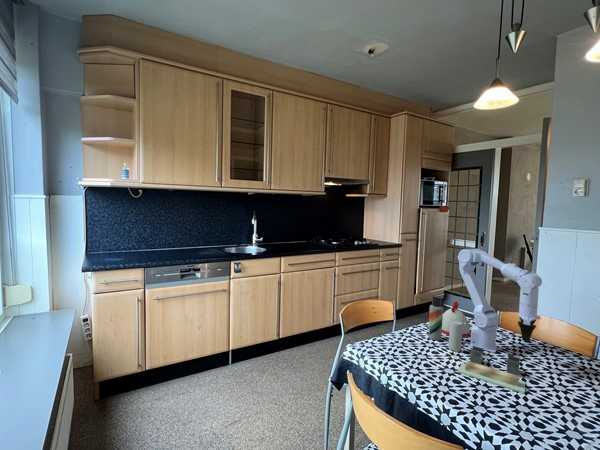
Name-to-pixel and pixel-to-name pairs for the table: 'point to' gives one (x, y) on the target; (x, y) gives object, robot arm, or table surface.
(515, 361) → the cradle stands
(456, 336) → the beverage can
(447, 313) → the kitchen timer
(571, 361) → the table surface
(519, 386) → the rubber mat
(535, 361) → the table surface
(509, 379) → the oak rail
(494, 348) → the robot arm
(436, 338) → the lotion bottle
